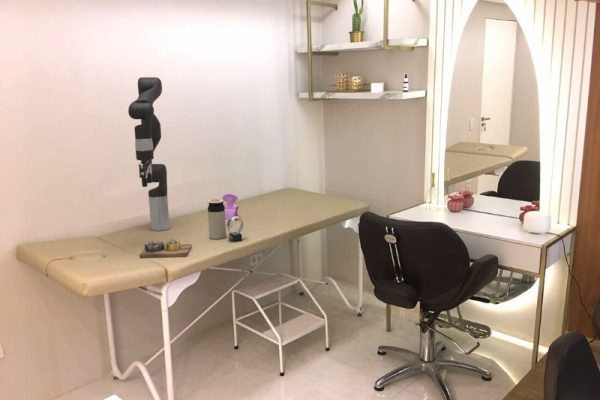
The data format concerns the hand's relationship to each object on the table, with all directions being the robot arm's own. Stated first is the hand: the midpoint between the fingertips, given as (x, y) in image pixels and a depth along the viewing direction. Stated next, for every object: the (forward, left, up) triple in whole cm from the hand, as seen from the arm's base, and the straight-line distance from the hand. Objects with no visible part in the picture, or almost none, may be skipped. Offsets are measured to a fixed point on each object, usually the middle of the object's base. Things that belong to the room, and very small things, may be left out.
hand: (147, 184), depth 239 cm
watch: (-4, +38, -28) cm, 48 cm away
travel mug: (-10, +29, -28) cm, 42 cm away
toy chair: (-43, +33, -28) cm, 61 cm away
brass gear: (+12, +12, -27) cm, 32 cm away
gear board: (+12, +9, -28) cm, 32 cm away
